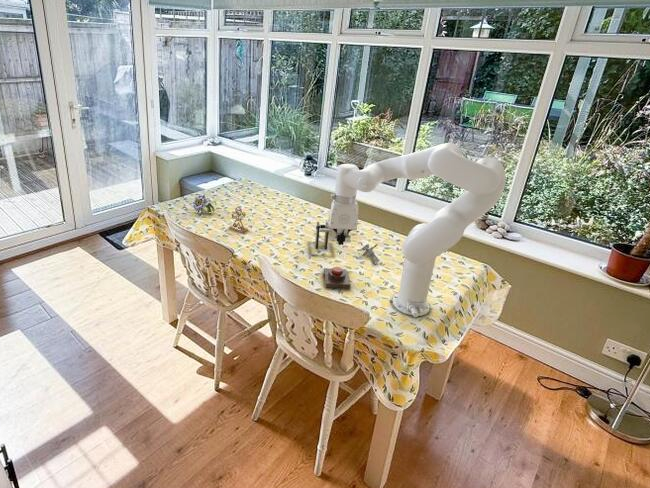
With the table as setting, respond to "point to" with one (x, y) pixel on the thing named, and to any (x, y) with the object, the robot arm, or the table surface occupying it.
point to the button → (337, 271)
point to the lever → (324, 229)
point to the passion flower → (202, 204)
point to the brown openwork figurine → (239, 221)
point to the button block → (336, 279)
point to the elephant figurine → (370, 253)
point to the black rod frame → (318, 236)
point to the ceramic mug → (336, 234)
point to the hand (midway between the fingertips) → (340, 243)
